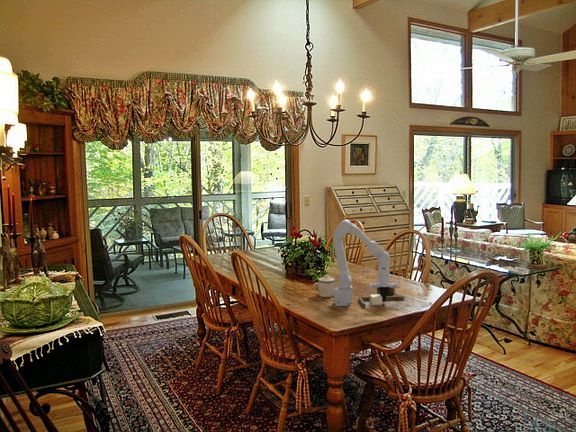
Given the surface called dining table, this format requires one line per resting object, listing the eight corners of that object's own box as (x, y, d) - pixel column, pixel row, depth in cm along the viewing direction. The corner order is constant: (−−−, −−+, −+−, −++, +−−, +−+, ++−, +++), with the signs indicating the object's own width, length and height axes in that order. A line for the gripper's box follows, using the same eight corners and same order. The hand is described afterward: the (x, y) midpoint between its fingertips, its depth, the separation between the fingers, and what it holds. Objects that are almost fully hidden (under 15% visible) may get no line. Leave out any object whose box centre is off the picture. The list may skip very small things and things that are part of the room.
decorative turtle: (384, 302, 255) (383, 287, 255) (372, 296, 270) (371, 282, 269) (401, 299, 258) (400, 284, 257) (387, 294, 272) (386, 280, 272)
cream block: (372, 304, 245) (372, 297, 244) (370, 302, 250) (370, 294, 249) (382, 304, 245) (382, 296, 245) (379, 301, 250) (379, 294, 250)
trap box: (363, 310, 240) (363, 303, 240) (358, 303, 253) (358, 296, 253) (410, 309, 241) (411, 302, 241) (403, 302, 254) (403, 295, 254)
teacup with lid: (332, 292, 275) (332, 272, 273) (336, 297, 266) (336, 276, 264) (312, 293, 273) (312, 273, 272) (314, 298, 264) (314, 277, 263)
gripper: (371, 277, 242) (371, 303, 243) (400, 276, 243) (399, 303, 244) (368, 274, 249) (368, 300, 250) (396, 273, 250) (395, 299, 251)
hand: (383, 301), depth 248 cm, fingers closed
